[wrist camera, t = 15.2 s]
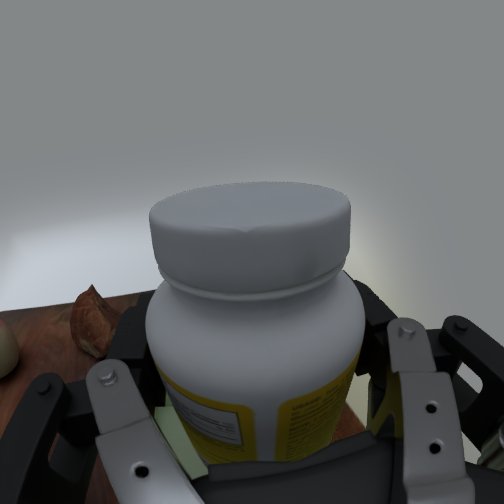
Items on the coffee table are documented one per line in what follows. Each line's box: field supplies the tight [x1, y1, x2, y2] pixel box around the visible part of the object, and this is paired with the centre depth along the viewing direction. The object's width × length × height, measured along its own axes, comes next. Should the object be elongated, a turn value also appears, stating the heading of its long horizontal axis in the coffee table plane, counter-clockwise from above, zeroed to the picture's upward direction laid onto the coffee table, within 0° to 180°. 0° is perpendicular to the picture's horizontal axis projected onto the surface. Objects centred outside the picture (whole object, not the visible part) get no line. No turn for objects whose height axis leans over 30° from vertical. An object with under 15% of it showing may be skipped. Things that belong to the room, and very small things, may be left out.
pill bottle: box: [145, 182, 365, 469], centre depth 8 cm, size 6×6×11 cm
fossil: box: [70, 285, 122, 359], centre depth 31 cm, size 13×8×10 cm
